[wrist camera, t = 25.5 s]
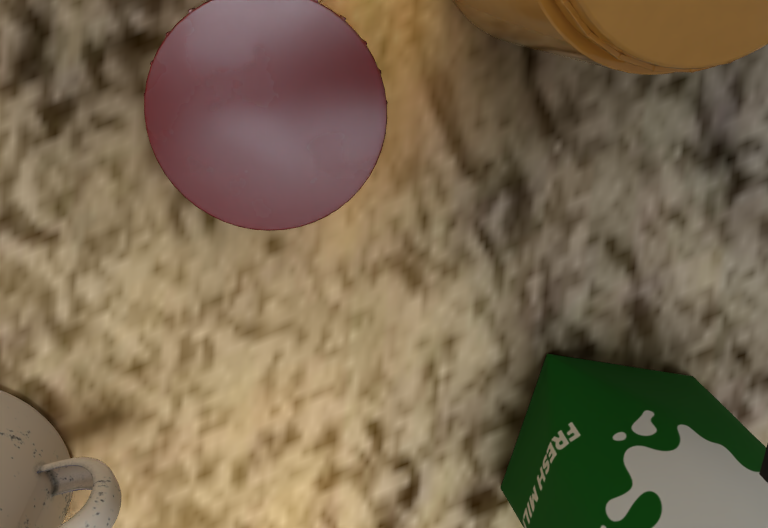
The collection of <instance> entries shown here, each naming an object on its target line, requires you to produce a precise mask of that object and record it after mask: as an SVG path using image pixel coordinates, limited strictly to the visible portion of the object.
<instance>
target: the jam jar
mask: <svg viewBox="0 0 768 528" xmlns="http://www.w3.org/2000/svg"><path fill="white" fill-rule="evenodd" d="M453 1H454V2H455V4H456V5H457V7H458V8H459V10H460V11H461V12H462V13H463V14H464V15H465V16H466V17H467V19H468V20H469V21H470V22H472V23H473V24H474V25H475V26H476V27H478V28H479V29H480V30H482V31H483V32H485V33H487V34H488V35H490V36H492V37H494V38H497V39H499V40H502V41H504V42H508V43H512V44H516V45H520V46H524V47H528V48H532V49H536V50H540V51H544V52H548V53H552V54H556V55H559V56H563V57H567V58H571V59H575V60H579V61H583V62H587V63H591V64H595V65H599V66H603V67H607V68H611V69H615V70H619V71H623V72H626V73H633V74H643V75H657V74H669V73H674V72H691V73H692V72H696V71H700V70H704V69H708V68H711V67H715V66H719V65H723V64H727V63H731V62H733V61H735V60H737V59H740V58H742V57H744V56H746V55H748V54H751V53H753V52H755V51H757V50H759V49H760V48H762V47H763V46H765V45H767V44H768V0H453Z"/></svg>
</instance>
